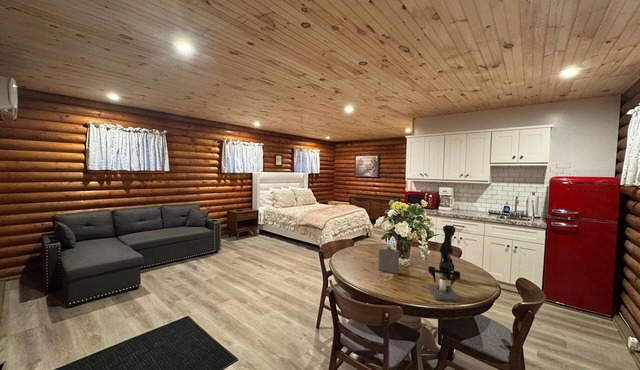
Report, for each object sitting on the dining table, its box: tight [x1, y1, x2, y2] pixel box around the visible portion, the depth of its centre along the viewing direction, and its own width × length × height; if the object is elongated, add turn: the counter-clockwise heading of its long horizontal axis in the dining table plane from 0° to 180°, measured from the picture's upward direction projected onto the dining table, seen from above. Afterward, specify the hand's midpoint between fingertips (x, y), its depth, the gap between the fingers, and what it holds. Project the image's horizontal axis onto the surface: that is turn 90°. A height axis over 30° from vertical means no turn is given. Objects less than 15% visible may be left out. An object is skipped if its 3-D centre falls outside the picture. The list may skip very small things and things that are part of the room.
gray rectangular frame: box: [428, 284, 459, 302], centre depth 170 cm, size 13×13×4 cm
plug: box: [438, 274, 448, 292], centre depth 169 cm, size 4×4×13 cm
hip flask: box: [377, 245, 400, 275], centre depth 208 cm, size 16×4×20 cm, turn 65°
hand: (442, 284), depth 168 cm, fingers open, 9 cm apart
